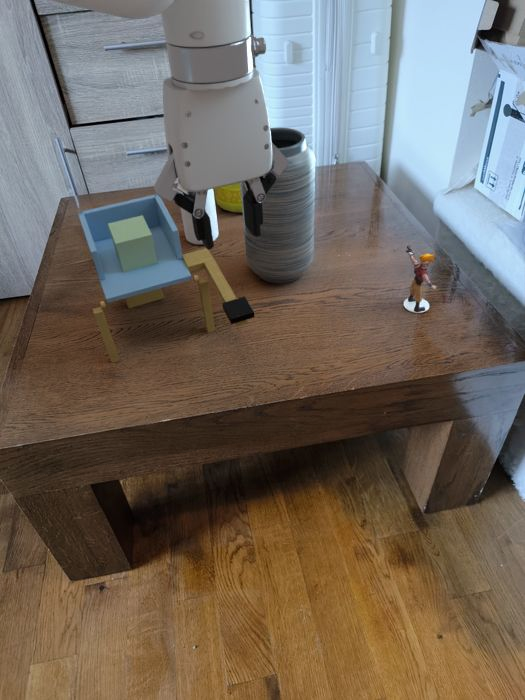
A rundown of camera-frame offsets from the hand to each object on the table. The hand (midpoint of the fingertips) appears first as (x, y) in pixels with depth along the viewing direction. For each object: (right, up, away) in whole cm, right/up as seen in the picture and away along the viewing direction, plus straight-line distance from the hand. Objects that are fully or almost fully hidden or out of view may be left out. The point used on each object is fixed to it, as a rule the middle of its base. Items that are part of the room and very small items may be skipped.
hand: (229, 235), depth 59 cm
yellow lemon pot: (-1, +19, +51) cm, 55 cm away
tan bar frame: (-14, -8, +24) cm, 29 cm away
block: (-15, 0, +16) cm, 22 cm away
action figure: (+28, -6, +24) cm, 37 cm away
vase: (+7, +1, +32) cm, 33 cm away
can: (-8, +9, +42) cm, 43 cm away
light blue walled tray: (-10, -3, +14) cm, 17 cm away
